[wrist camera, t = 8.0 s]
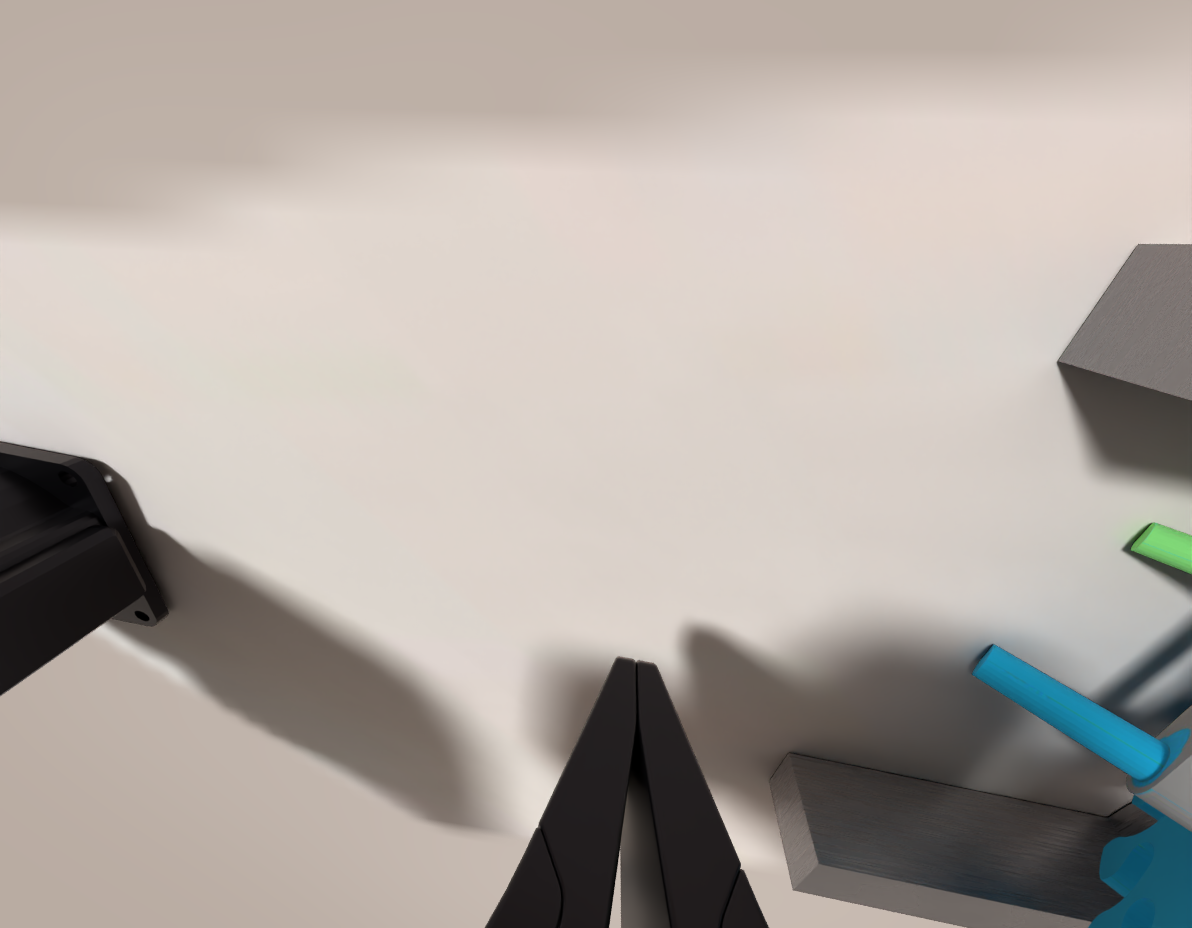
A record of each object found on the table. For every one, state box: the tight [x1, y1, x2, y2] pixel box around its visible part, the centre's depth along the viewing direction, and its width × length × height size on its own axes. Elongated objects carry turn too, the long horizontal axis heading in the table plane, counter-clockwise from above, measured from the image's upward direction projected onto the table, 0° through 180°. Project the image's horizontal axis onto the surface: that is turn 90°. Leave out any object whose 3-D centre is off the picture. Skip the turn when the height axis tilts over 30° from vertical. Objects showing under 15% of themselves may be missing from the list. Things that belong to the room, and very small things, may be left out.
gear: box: [972, 523, 1192, 928], centre depth 9 cm, size 11×6×10 cm
